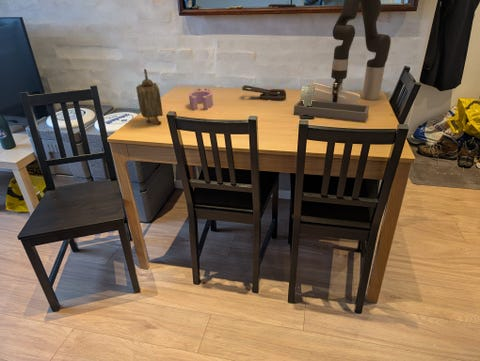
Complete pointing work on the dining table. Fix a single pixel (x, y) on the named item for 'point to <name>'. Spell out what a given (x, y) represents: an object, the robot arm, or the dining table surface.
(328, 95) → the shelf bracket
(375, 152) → the dining table surface
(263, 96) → the black elongated piece
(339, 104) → the grey rectangular tray
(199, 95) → the clip
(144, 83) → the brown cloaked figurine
